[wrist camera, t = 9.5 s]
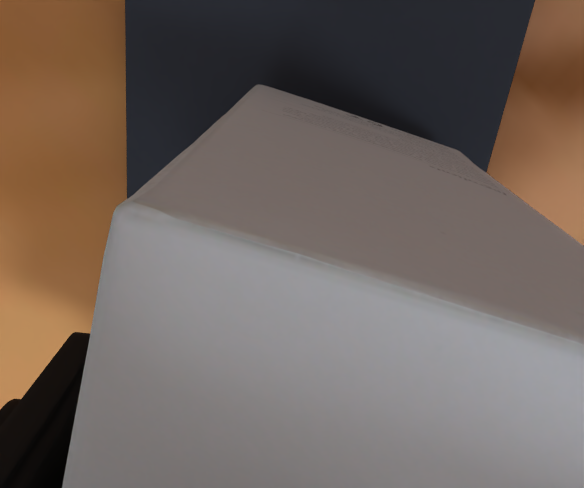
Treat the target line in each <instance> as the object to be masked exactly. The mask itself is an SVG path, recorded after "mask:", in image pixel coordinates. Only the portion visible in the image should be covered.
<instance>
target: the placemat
mask: <svg viewBox="0 0 584 488" xmlns="http://www.w3.org/2000/svg"><path fill="white" fill-rule="evenodd" d="M534 2H535V0H125V23H126V130H127V199H128V198H129V197H131V196H132V195H134V194H135V193H136V192H137V191H138V190H139V189H140V188H141V187H142V186H144V185H145V184H146V183H147V182H148V181H149V180H151V179H152V178H153V177H154V176H155V175H156V174H158V173H159V172H160V171H161V170H162V169H163V168H164V167H165V166H167V165H168V164H169V163H170V162H171V161H172V160H173V159H175V158H176V157H177V156H178V155H179V154H180V153H182V152H183V151H184V150H185V149H187V148H188V147H189V146H190V145H191V144H193V143H194V142H195V141H196V140H197V139H198V138H199V137H200V136H201V135H202V134H203V133H205V132H206V131H207V130H208V129H209V128H210V127H211V126H212V125H213V124H214V123H215V122H217V121H218V120H219V119H220V118H221V117H222V116H223V115H225V114H226V113H227V112H228V111H229V110H230V109H231V108H232V107H233V106H234V105H235V104H236V103H237V102H238V101H239V100H240V99H241V98H243V97H244V96H245V95H246V94H247V93H248V92H249V91H250V90H251V89H252V88H253V87H254V86H255V85H264V86H268V87H272V88H275V89H278V90H281V91H284V92H287V93H290V94H293V95H296V96H299V97H303V98H306V99H309V100H312V101H315V102H318V103H321V104H324V105H327V106H330V107H333V108H336V109H339V110H342V111H345V112H348V113H350V114H353V115H356V116H359V117H362V118H365V119H368V120H371V121H374V122H377V123H380V124H383V125H386V126H389V127H392V128H395V129H398V130H401V131H404V132H406V133H409V134H412V135H415V136H418V137H421V138H424V139H427V140H430V141H433V142H435V143H438V144H441V145H444V146H447V147H450V148H453V149H456V150H458V151H460V152H461V153H462V154H464V155H465V156H466V157H467V158H468V159H469V160H471V161H472V162H473V163H474V164H475V165H476V166H478V167H479V168H480V169H482V170H483V171H484V172H486V171H487V168H488V164H489V161H490V157H491V154H492V150H493V147H494V143H495V140H496V136H497V133H498V129H499V126H500V122H501V118H502V115H503V111H504V108H505V104H506V101H507V97H508V94H509V90H510V87H511V83H512V80H513V76H514V73H515V69H516V66H517V62H518V58H519V55H520V51H521V48H522V44H523V41H524V37H525V34H526V30H527V27H528V23H529V20H530V16H531V13H532V9H533V6H534Z"/></svg>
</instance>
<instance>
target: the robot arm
mask: <svg viewBox="0 0 584 488" xmlns="http://www.w3.org/2000/svg"><path fill="white" fill-rule="evenodd" d="M89 339H90V334H88V333H79V332H75V333H73V334H72V335H70V337H69V338H68V339H67V341H66V342H65V343H64V344H63V346H62V347H61V348H60V350H59V351H58V352H57V354H56V355H55V356H54V357H53V359H52V360H51V361H50V363H49V364H48V365H47V366H46V368H45V369H44V370H43V372H42V373H41V374H40V376H39V377H38V378H37V379H36V381H35V382H34V383H33V385H32V386H31V387H30V389H29V390H28V391H27V392H26V394H25V395H24V396H23V398H22V399H13V400H11V401H9V402H7V403H6V404H5V405H4V406H3V407H2V409H1V410H0V488H62V485H63V479H64V474H65V468H66V463H67V457H68V452H69V446H70V441H71V435H72V430H73V424H74V419H75V414H76V408H77V403H78V398H79V392H80V387H81V382H82V376H83V371H84V366H85V360H86V355H87V350H88V344H89Z"/></svg>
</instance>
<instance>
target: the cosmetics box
mask: <svg viewBox="0 0 584 488" xmlns="http://www.w3.org/2000/svg"><path fill="white" fill-rule="evenodd" d="M62 488H584V246H583V245H582V244H580V243H579V242H578V241H577V240H575V239H574V238H573V237H571V236H570V235H569V234H567V233H566V232H565V231H563V230H562V229H560V228H559V227H558V226H556V225H555V224H554V223H552V222H551V221H549V220H548V219H547V218H545V217H544V216H543V215H541V214H540V213H539V212H537V211H536V210H535V209H533V208H532V207H531V206H529V205H528V204H527V203H525V202H524V201H523V200H521V199H520V198H519V197H517V196H516V195H515V194H514V193H512V192H511V191H510V190H508V189H507V188H506V187H504V186H503V185H502V184H500V183H499V182H498V181H496V180H495V179H494V178H492V177H491V176H490V175H488V174H487V173H486V172H484V171H483V170H482V169H480V168H479V167H478V166H476V165H475V164H474V163H473V162H472V161H471V160H469V159H468V158H467V157H466V156H465V155H464V154H462V153H461V152H460V151H458V150H456V149H453V148H450V147H447V146H444V145H441V144H438V143H435V142H433V141H430V140H427V139H424V138H421V137H418V136H415V135H412V134H409V133H406V132H404V131H401V130H398V129H395V128H392V127H389V126H386V125H383V124H380V123H377V122H374V121H371V120H368V119H365V118H362V117H359V116H356V115H353V114H350V113H348V112H345V111H342V110H339V109H336V108H333V107H330V106H327V105H324V104H321V103H318V102H315V101H312V100H309V99H306V98H303V97H299V96H296V95H293V94H290V93H287V92H284V91H281V90H278V89H275V88H272V87H268V86H264V85H255V86H254V87H253V88H252V89H251V90H250V91H249V92H248V93H247V94H246V95H245V96H244V97H243V98H241V99H240V100H239V101H238V102H237V103H236V104H235V105H234V106H233V107H232V108H231V109H230V110H229V111H228V112H227V113H226V114H225V115H223V116H222V117H221V118H220V119H219V120H218V121H217V122H215V123H214V124H213V125H212V126H211V127H210V128H209V129H208V130H207V131H206V132H205V133H203V134H202V135H201V136H200V137H199V138H198V139H197V140H196V141H195V142H194V143H193V144H191V145H190V146H189V147H188V148H187V149H185V150H184V151H183V152H182V153H180V154H179V155H178V156H177V157H176V158H175V159H173V160H172V161H171V162H170V163H169V164H168V165H167V166H165V167H164V168H163V169H162V170H161V171H160V172H159V173H158V174H156V175H155V176H154V177H153V178H152V179H151V180H149V181H148V182H147V183H146V184H145V185H144V186H142V187H141V188H140V189H139V190H138V191H137V192H136V193H135V194H134V195H132V196H131V197H129V198H128V199H126V200H125V201H124V202H122V203H121V204H119V205H118V206H117V207H116V209H115V211H114V213H113V217H112V221H111V226H110V230H109V235H108V239H107V244H106V248H105V253H104V257H103V263H102V269H101V275H100V281H99V286H98V292H97V298H96V304H95V310H94V316H93V322H92V327H91V333H90V339H89V344H88V350H87V355H86V360H85V366H84V371H83V376H82V382H81V387H80V392H79V398H78V403H77V408H76V414H75V419H74V424H73V430H72V435H71V441H70V446H69V452H68V457H67V463H66V468H65V474H64V479H63V485H62Z"/></svg>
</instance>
